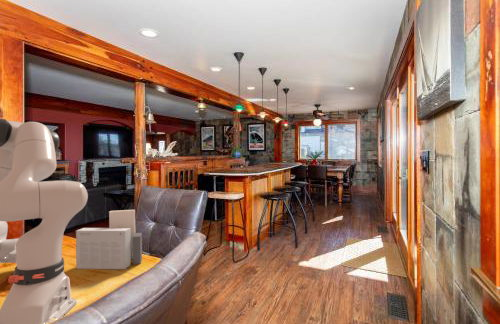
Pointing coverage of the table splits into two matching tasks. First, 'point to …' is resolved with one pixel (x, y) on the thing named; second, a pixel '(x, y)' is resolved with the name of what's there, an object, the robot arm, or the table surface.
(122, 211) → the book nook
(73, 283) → the table surface
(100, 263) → the skincare box
